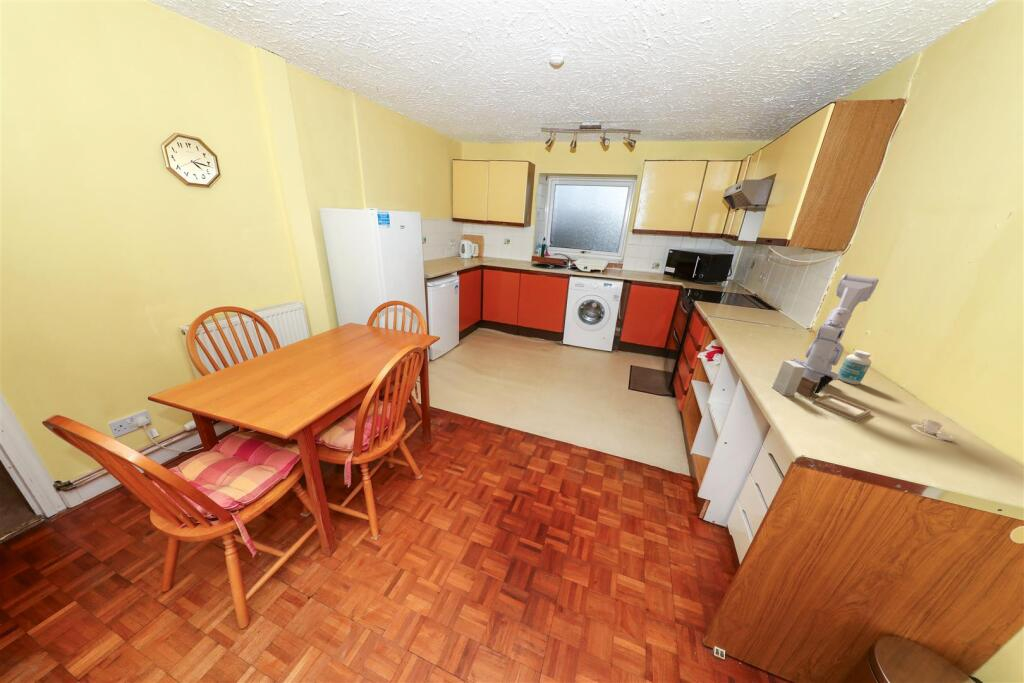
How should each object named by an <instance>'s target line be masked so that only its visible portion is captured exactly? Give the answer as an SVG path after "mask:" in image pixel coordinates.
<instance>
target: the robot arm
mask: <svg viewBox="0 0 1024 683" xmlns="http://www.w3.org/2000/svg"><path fill="white" fill-rule="evenodd" d="M878 284H879V278H878V277H876V278H875V277H869V276H861V275H856V274H855V275H852V274H848V273H845V274H843V275H842V276H841V278H840V280H839V283H838V284H837V287H836V297H838V298H839V299H840V300H839V303H838V306H837V307H836V308H833V309H831V310H830V312H829V314H828V316H827V318H826V320H825V322H824V323H823V324H821V325H820V326H819V328H818V329H817V332H816V336H815V339H814V340H812V342H811V344H810V345H809V346H808V348H807V351H806V353H805V358H807V359H806V361H802V360H799V359H796V358H792V359H790V361H794V362H796V363H798V364H800V365H802V366H804V367H806V370H805V372H804V374H803V376H805V377H807V378H810V379H813V380H815V381H818V382H819V384H818V386H817V388H816V390H815V392H814V394H820V393H821V391H822V390H824V388H825V387H826V386H828V384H830V383H832V382H833V381H837V380H839V379H838V378H839V376H840V375H839V374H838V373H836V372H833V371H832V370H833V367H832V366H837V365H838V363H839V362H840V359H841V357H842V356H843V353H844V350H845V347H844V346H843V345H842V344H841V343H840V342H841V340H842V338H843V336H844V334H845V332H846V327H847V325H848V323H849V322H850V320H851V318H852V314H853V312H854V311H855V308H856V307H857V306H858V305H859V304H860V303H861V302H862V303H863V302H867V301H869V299H870V298H871V297H872V295H873V293H874V292H875V289H876V287H877V285H878ZM803 376H802V377H803Z"/></svg>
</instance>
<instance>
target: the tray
mask: <svg viewBox="0 0 1024 683" xmlns="http://www.w3.org/2000/svg"><path fill="white" fill-rule="evenodd" d="M812 404H813V405H816V406H818V407H821V408H823V409H825V410H828V411H830V412H833V413H835V414H837V415H840V416H842V417H845V418H847V419H849V420H852V421H854V422H857V421H859V420H861V419H863V418H865V417H867V416H868V415H870V414H871V413H872V409H869V408H867V407H865V406H861V405H860V404H857V403H854V402H852V401H849V400H847V399H844V398H841V397H839V396H836V395H834V394H831V393H827V394H824V395H822V396H819V397H817V398H815V399H813V401H812Z"/></svg>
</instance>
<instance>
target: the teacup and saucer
mask: <svg viewBox="0 0 1024 683" xmlns="http://www.w3.org/2000/svg"><path fill="white" fill-rule="evenodd" d="M924 421H926V423H924ZM943 426H944V425H943V423H940V422H939V421H937V420H934V419H933V420H931V419H922V420H921V424H915V423H914V424H911V428H912V429H913V430H915V431H916V432H918V433H920V434H923V435H925V436H927V437H930V438H933V439H937V440H941V441H949V442H954V441H955V440H956V437H955V436H953V435H951V434H947V433H943V432H941V431H940V430H941V429H942V427H943ZM918 427H919V428H923V431H924V432H923V431H920V430H919V429H918ZM930 434H931V435H930ZM933 435H935V436H933Z"/></svg>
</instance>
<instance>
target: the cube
mask: <svg viewBox="0 0 1024 683" xmlns="http://www.w3.org/2000/svg"><path fill="white" fill-rule="evenodd" d="M818 384H819V382H818V381H815V380H813V379H810V378H807V377H805V376H803V377H802V379H801V381H800V383H799V385H798V388H797V390H796V392H798V393H800V394H802V395H804V396H805V395H806V396H810V394H811V395H813V394H815V390H816V389H817V386H818Z"/></svg>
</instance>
